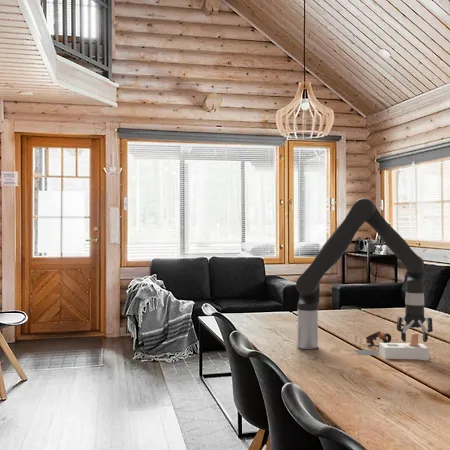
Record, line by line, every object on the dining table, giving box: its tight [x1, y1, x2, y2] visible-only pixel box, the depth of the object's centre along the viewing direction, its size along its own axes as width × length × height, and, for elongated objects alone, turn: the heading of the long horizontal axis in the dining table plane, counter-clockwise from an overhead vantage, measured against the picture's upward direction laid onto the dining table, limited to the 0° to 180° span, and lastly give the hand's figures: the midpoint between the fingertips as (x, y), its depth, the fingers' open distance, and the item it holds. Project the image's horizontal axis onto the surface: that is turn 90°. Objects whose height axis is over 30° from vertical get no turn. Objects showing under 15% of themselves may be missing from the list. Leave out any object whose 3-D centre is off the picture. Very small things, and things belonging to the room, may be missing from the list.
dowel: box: [410, 332, 419, 347], centre depth 229 cm, size 3×3×10 cm
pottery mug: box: [365, 331, 392, 346], centre depth 249 cm, size 12×10×8 cm
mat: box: [354, 349, 380, 356], centre depth 236 cm, size 9×9×1 cm
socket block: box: [378, 342, 430, 361], centre depth 230 cm, size 18×9×5 cm, turn 88°
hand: (414, 341), depth 229 cm, fingers open, 8 cm apart
